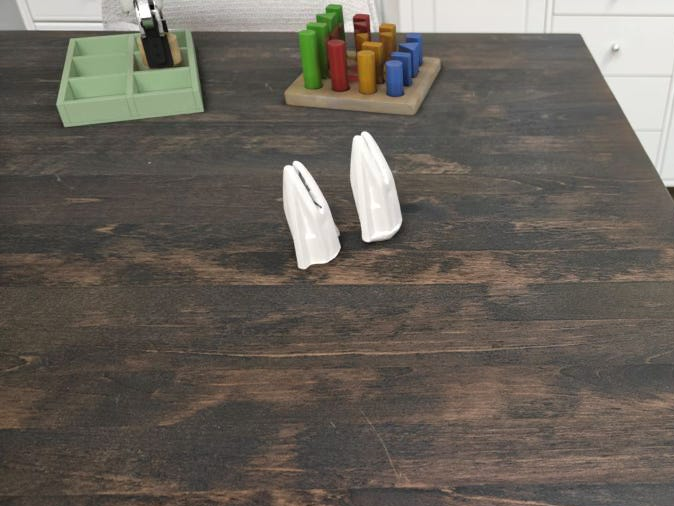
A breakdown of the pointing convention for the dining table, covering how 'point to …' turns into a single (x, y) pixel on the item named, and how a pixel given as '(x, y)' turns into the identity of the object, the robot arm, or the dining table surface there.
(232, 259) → the dining table surface
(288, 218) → the shaker set
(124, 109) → the grid
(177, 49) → the token
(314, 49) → the peg board
